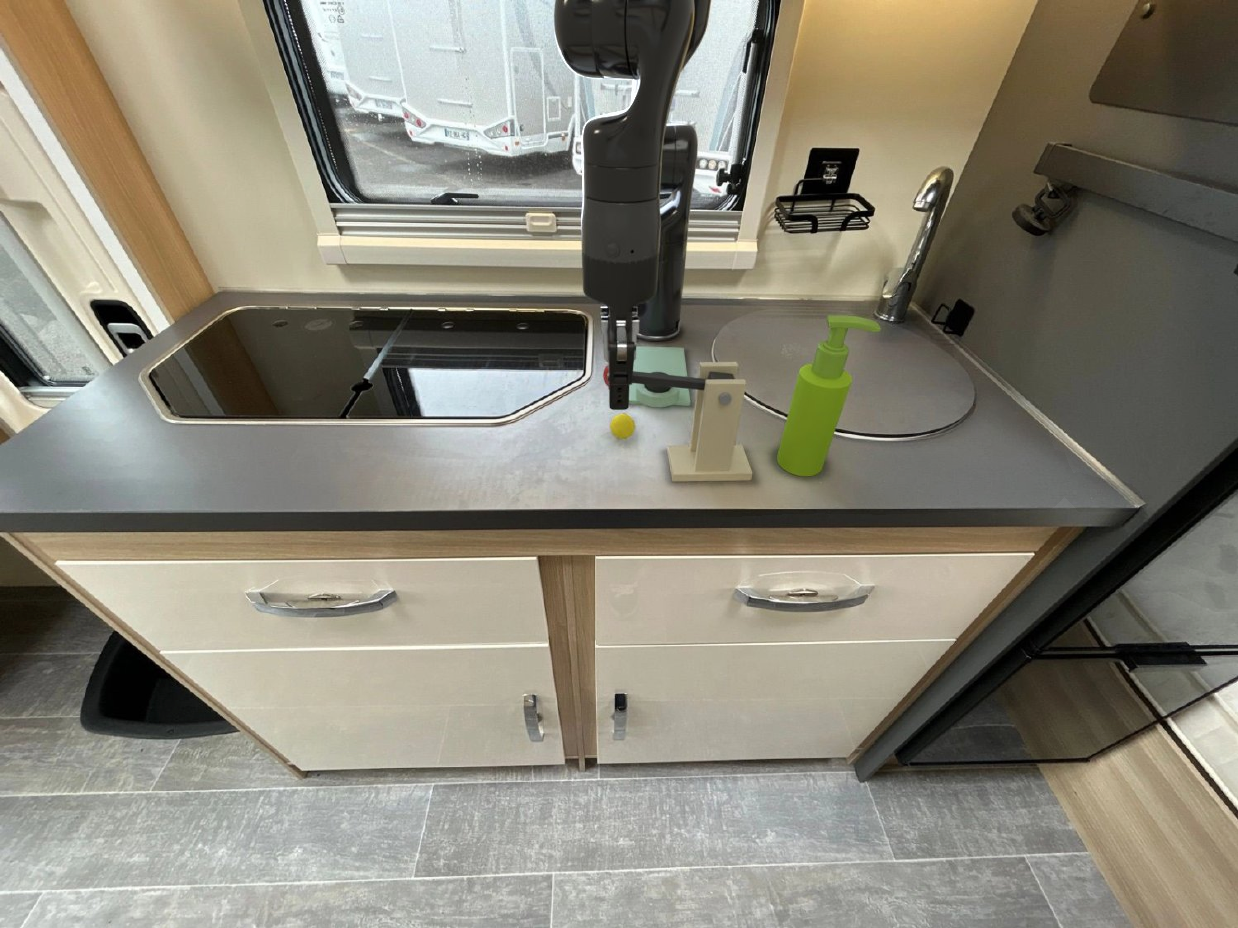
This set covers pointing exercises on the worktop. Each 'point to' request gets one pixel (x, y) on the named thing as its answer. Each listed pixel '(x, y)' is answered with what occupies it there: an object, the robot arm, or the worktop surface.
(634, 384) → the button block
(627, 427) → the yellow rounded piece
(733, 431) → the bracket
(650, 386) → the button
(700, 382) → the lever
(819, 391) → the soap dispenser
